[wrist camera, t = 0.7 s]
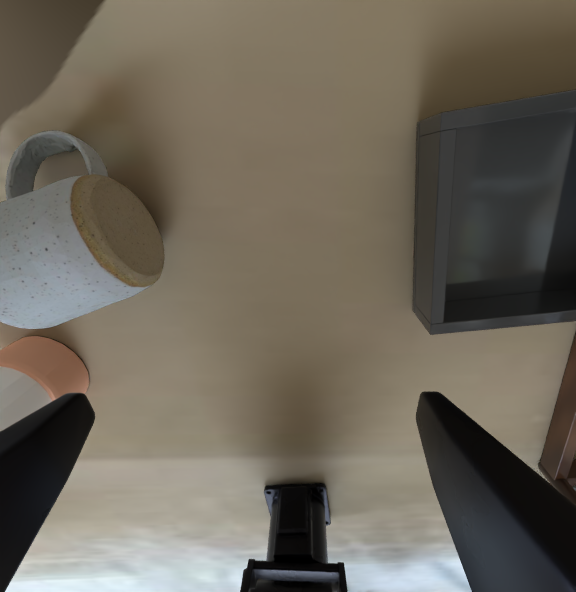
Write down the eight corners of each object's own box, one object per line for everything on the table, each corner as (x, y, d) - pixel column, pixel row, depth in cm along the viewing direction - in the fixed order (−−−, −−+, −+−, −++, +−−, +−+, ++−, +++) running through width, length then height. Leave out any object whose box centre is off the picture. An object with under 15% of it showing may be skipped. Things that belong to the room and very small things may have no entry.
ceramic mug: (186, 266, 22) (129, 311, 15) (96, 299, 23) (5, 355, 16) (105, 110, 18) (-22, 71, 11) (5, 162, 20) (-163, 157, 13)
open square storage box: (579, 293, 21) (627, 316, 18) (412, 311, 22) (430, 335, 19) (634, 85, 16) (714, 65, 13) (416, 122, 18) (441, 112, 14)
